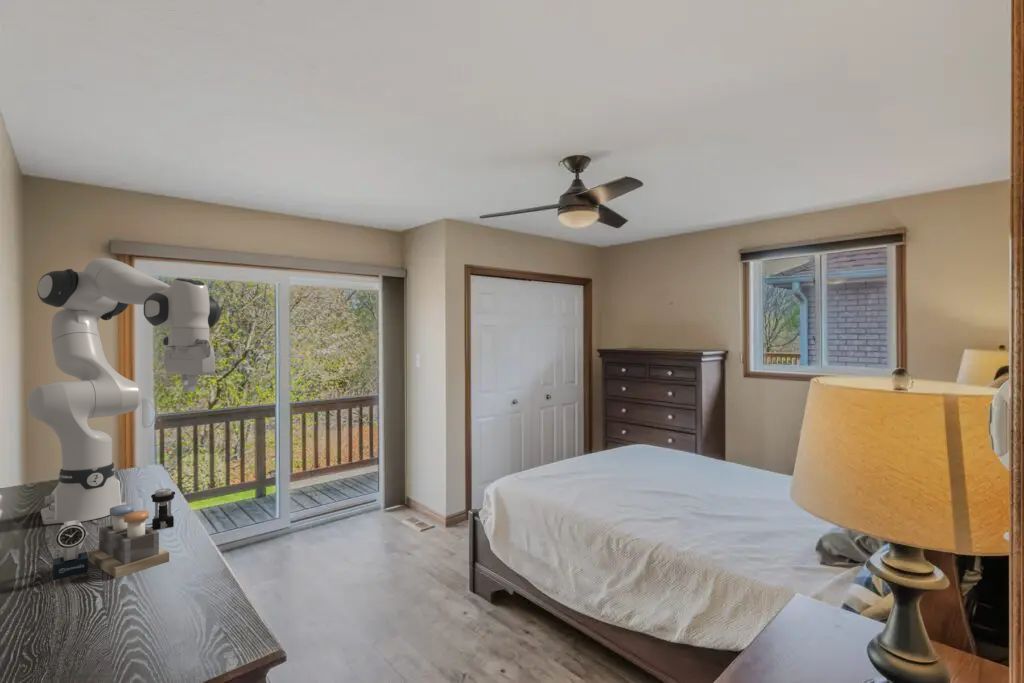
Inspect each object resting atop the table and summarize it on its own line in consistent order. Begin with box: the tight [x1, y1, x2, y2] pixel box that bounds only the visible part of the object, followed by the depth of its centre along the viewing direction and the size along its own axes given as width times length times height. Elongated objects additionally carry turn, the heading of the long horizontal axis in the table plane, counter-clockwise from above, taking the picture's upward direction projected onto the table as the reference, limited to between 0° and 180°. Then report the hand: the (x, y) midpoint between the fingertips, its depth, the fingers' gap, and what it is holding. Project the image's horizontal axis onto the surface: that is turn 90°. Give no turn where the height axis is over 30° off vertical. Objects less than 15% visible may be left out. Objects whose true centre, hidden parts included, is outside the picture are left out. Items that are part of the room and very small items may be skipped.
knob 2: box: [124, 510, 149, 539], centre depth 110 cm, size 4×4×9 cm
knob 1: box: [109, 503, 135, 531], centre depth 115 cm, size 4×4×9 cm
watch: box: [52, 520, 90, 581], centre depth 106 cm, size 6×8×11 cm
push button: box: [145, 488, 176, 531], centre depth 133 cm, size 7×5×10 cm
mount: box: [87, 524, 170, 579], centre depth 112 cm, size 16×10×7 cm, turn 57°
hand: (189, 391), depth 130 cm, fingers closed
